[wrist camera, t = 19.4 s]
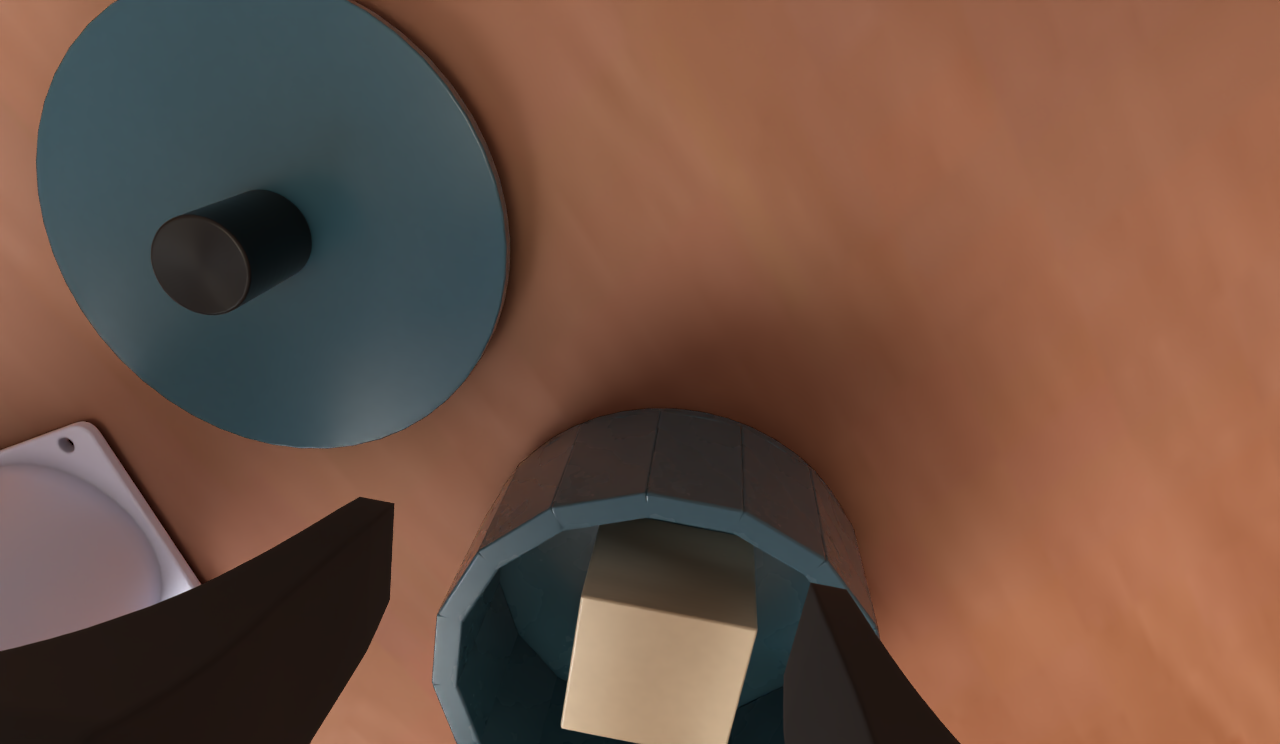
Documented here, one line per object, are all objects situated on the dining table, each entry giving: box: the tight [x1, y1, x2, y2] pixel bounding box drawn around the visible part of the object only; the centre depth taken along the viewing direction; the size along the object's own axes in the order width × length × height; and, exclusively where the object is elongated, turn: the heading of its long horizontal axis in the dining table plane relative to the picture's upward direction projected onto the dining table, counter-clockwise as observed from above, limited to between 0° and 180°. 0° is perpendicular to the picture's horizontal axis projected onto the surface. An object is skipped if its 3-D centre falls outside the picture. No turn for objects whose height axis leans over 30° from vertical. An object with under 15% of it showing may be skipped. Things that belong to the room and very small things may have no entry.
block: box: [561, 518, 758, 744], centre depth 24 cm, size 5×5×4 cm
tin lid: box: [36, 0, 510, 448], centre depth 21 cm, size 13×13×4 cm
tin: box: [432, 408, 880, 744], centre depth 24 cm, size 12×12×5 cm
